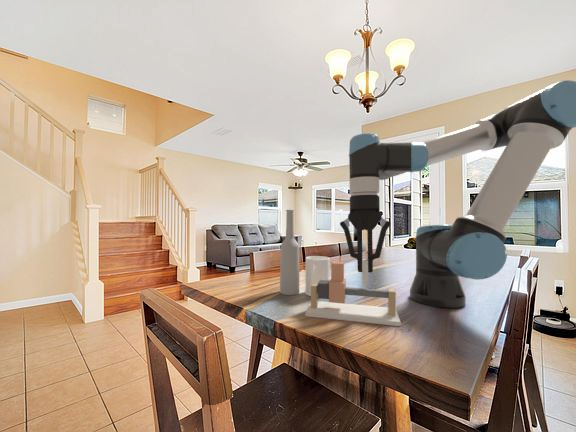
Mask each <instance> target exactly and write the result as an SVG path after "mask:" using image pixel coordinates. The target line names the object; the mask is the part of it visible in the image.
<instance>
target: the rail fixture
mask: <svg viewBox="0 0 576 432" xmlns="http://www.w3.org/2000/svg"><path fill="white" fill-rule="evenodd" d="M329 282H330V281H329V280H320V281H319V283H318V284H312V285H311V296H310V303H309V305H308V307H307V309H306V311H305V313H304V317H311V318H317V319H318V318H320V319H329V320H339V321H346V322H347V321H348V322H357V323H365V324H367V323H368V324H374V325H375V324H377V325H384V326H385V325H387V326H392V327H393V326H395V327H401V324H402V323H401V319H400V316H399V313H398V312H397V309H396V308H397V307H396V306H397V305H396V301H397V300H396V293H397V292H396V290H395V289H391V288H388V289H374V288H364V287H363V288H361V287H347V286H346V287H345V295H346V296H355V297H357V296H358V297H367V298H368V297H370V298H381V299H387V306H377V305H367V304H365V305H364V304H356V303H355V304H353V303H346V302H345V303H344V304H343V303H332V302H329V301H322V300H323V299H324V300H329ZM320 299H322V300H320ZM319 300H320V301H319Z"/></svg>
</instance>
